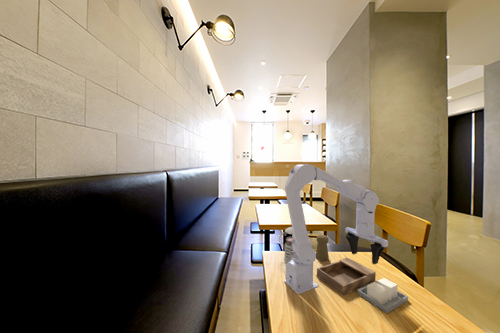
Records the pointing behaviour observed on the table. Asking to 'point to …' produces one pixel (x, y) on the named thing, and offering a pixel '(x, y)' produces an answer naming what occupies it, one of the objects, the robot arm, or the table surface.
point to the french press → (288, 245)
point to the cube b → (389, 287)
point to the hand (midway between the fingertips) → (364, 258)
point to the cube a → (377, 292)
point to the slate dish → (388, 305)
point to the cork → (322, 248)
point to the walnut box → (346, 275)
